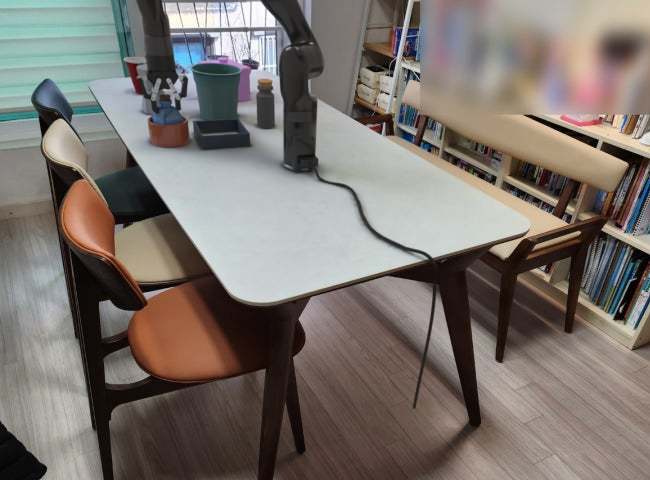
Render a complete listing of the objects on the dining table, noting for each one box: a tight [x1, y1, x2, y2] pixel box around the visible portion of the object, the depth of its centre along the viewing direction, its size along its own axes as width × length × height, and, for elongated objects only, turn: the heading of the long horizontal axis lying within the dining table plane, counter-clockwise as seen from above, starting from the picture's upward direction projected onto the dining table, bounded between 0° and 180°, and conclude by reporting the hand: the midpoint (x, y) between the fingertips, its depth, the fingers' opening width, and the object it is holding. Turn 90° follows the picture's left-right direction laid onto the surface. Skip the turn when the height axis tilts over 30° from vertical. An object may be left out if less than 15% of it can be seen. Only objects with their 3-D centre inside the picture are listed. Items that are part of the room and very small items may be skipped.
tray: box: [192, 117, 251, 150], centre depth 163 cm, size 14×14×4 cm
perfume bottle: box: [151, 93, 184, 125], centre depth 156 cm, size 6×6×12 cm
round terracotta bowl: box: [146, 115, 191, 148], centre depth 158 cm, size 11×11×6 cm
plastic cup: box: [123, 56, 146, 95], centre depth 194 cm, size 11×11×12 cm
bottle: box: [255, 78, 276, 130], centre depth 174 cm, size 6×6×15 cm
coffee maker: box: [137, 55, 165, 116], centre depth 176 cm, size 15×9×18 cm, turn 42°
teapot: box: [187, 56, 252, 102], centre depth 197 cm, size 15×25×14 cm, turn 131°
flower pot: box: [189, 62, 242, 120], centre depth 178 cm, size 16×16×16 cm
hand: (167, 112), depth 155 cm, fingers closed on perfume bottle, 5 cm apart
